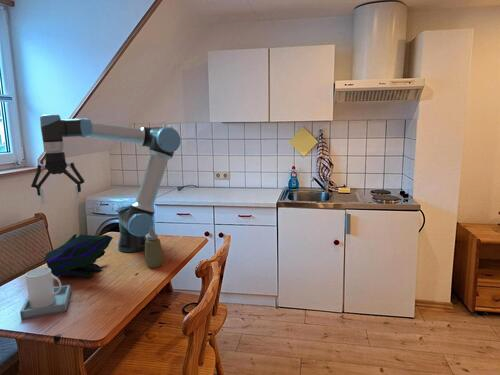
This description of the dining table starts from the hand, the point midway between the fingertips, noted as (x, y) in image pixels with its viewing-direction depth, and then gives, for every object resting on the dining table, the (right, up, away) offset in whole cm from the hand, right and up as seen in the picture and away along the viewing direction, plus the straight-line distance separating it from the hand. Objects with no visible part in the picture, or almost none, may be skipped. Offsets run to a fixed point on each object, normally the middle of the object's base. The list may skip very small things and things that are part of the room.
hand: (60, 201), depth 161 cm
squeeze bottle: (+38, -30, +8) cm, 49 cm away
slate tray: (+8, -37, -25) cm, 45 cm away
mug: (+8, -36, -25) cm, 45 cm away
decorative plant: (+10, -32, +2) cm, 33 cm away
